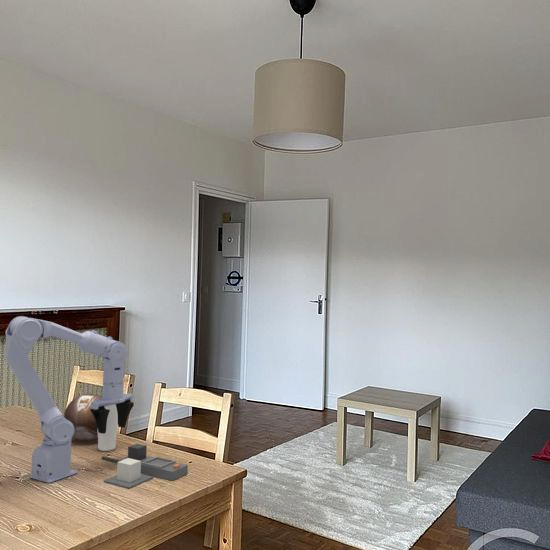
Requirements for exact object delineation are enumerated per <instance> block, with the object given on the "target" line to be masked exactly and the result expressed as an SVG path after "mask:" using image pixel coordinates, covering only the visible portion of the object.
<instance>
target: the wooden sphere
mask: <svg viewBox="0 0 550 550" xmlns="http://www.w3.org/2000/svg"><path fill="white" fill-rule="evenodd" d="M100 398H103V396H101V395H98V394H95V393H85V394H80V395H78V396H76V397H75V398H74V399H72V400H71V401H70V402H69V403H68V405H67V406H66V408H65V411H64V414H63V416H64V417H65V419H67V420H68V421H70V422H71V423H72V424H73V425H74V429H75V430H74V435H73V437H72V438H74V439H76V440H79V441H85V442H87V441H93V440H96V439H98V432H97V424H96V421H95V418H94V416H93V414H92V412H91V402H92V401H96V400H98V399H100Z"/></svg>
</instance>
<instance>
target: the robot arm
mask: <svg viewBox="0 0 550 550" xmlns="http://www.w3.org/2000/svg"><path fill="white" fill-rule="evenodd" d="M49 337H54V338H58V339H60V340H64V341H67V342H70V343H73V344H76V345H77V347H78V349H79V350H80V351H82V352H85V353H87V354H88V353H89V354H91V355H94V356H97V357H98V358H103V370H102V371H103V372H102V376H103V377H102V398H100V399H98V400H96V401H92V402H91V412H92V414H93V416H94V418H95V421H96V424H97V428H98V432H99V433H102V434H104V433H106V425H107V418H108V414H109V412H110V410H108V409H106V408H105V406H110V405H114V404H116V408H117V414H118V427H119V428H122V429H124V428H126V425H127V421H128V418H129V415H130V413H131V412H132V411H131V410H132V409H133V407H134V405H135V404H134V402H133V401H134V394H133V393H129V392H128V393H124V384H125V382H124V381H125V380H124V378H125V377H124V376H125V360H126V358H127V357H128V354H129V350H128V349H127V346H126V345H125V343H124V342H122V341H118V340H115V339H113V337H112V336H110V335H109V336H104V335H102V334H99V333H98V331H96V330H93V329H92V330H86V331H83V332H78V331H76V330H73V329H71V328H69V327H65V326H62V325H60V324H58V323H55V322H52V321H48V320H44V319H38V318H33V317H28V316H24V315H20V316H16V317H14V318H13V319H12V320H11V321H10V322H9V324H8V326H7V328H6V330H5V348H4V359H5V361H6V363H7V364H8V366H9V368H10V369H11V372H12V373H13V374H14V376H15V379H16V380H17V382H19V385H20V386H21V388H22V390H23V391H24V393H25V394H26V397H27V398H28V400H29V402H30V403H31V404H32V406H33V409H34V410H35V412H36V413H37V416H38V420H39V421H40V429H41V432H42V433H43V435H44V437H43V439H42V443H41V444H40V446H39V445H38V446H37V447H36V448H34V449H33V452H32V455H31V474H30V475H29V478H30V479H32V480H33V479H34V480H37V481H41V482H45V483H48V484H50V483H54V482H56V481H58V480H63V479H65V478H68V477H70V476H72V475H75V474H78V470H75V469H71V465H72V464H71V463H72V462H71V461H72V438H74V437H73V435H74V430H75V429H74V425H73V424H72V423H71V422H70V421H68V420H67V419H65V417H64V414H63V413H62V411H60V409H59V408H58V407H57V404H56V403H55V402H54V399H53V398H52V397H51V395H50V393H49V392H48V390H47V388H46V386H45V385H44V383H43V381H42V379H41V377H40V376H39V374H38V373H37V370H36V369H35V367H34V365H33V364H32V362H31V360H30V358H29V354H30V352H31V350H32V348H33V346H34V345H35V344H36V342H38V340H39V339H40V338H41V339H46V338H49ZM118 427H117V428H118Z"/></svg>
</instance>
